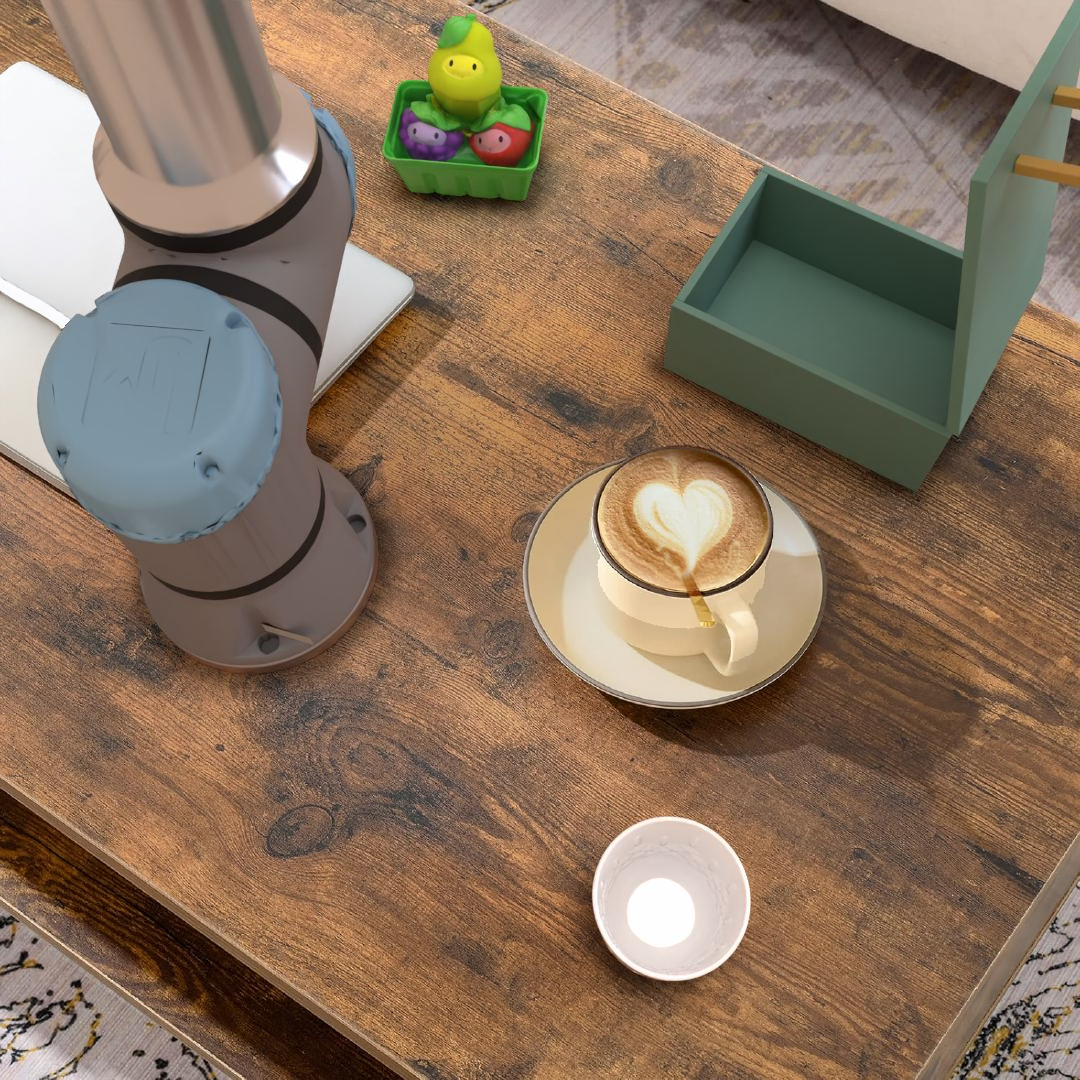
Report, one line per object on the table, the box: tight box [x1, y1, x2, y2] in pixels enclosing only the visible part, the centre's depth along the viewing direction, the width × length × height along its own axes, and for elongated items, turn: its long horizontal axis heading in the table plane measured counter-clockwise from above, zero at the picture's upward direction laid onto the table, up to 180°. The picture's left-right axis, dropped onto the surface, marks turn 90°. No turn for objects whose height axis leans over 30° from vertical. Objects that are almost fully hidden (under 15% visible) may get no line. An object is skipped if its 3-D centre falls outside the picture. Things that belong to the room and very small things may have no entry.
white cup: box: [591, 816, 752, 982], centre depth 62 cm, size 8×8×10 cm
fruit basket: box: [381, 12, 549, 202], centre depth 84 cm, size 11×9×11 cm
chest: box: [663, 164, 964, 493], centre depth 78 cm, size 19×13×8 cm
